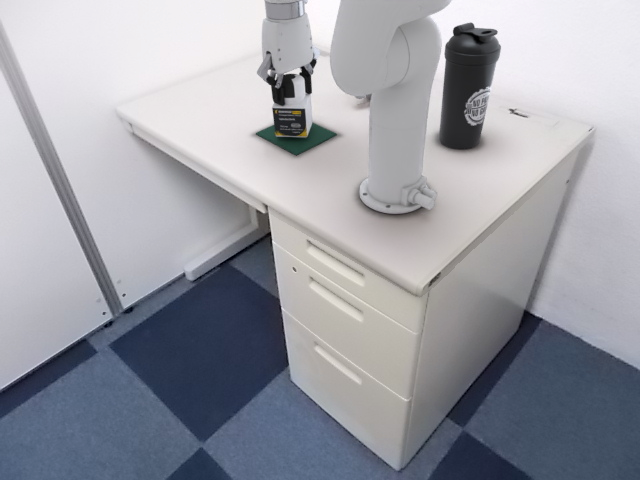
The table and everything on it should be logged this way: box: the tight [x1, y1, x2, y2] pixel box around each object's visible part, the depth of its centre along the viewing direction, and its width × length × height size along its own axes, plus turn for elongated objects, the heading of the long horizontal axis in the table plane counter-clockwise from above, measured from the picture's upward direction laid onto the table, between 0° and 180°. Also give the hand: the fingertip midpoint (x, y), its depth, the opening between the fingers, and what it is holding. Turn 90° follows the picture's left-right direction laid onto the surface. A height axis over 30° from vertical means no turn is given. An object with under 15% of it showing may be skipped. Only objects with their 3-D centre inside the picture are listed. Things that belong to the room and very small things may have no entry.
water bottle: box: [438, 22, 502, 151], centre depth 98 cm, size 10×10×23 cm
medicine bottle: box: [271, 73, 314, 137], centre depth 106 cm, size 7×7×12 cm
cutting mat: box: [255, 122, 338, 156], centre depth 111 cm, size 14×12×1 cm
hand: (292, 97), depth 105 cm, fingers closed on medicine bottle, 6 cm apart
